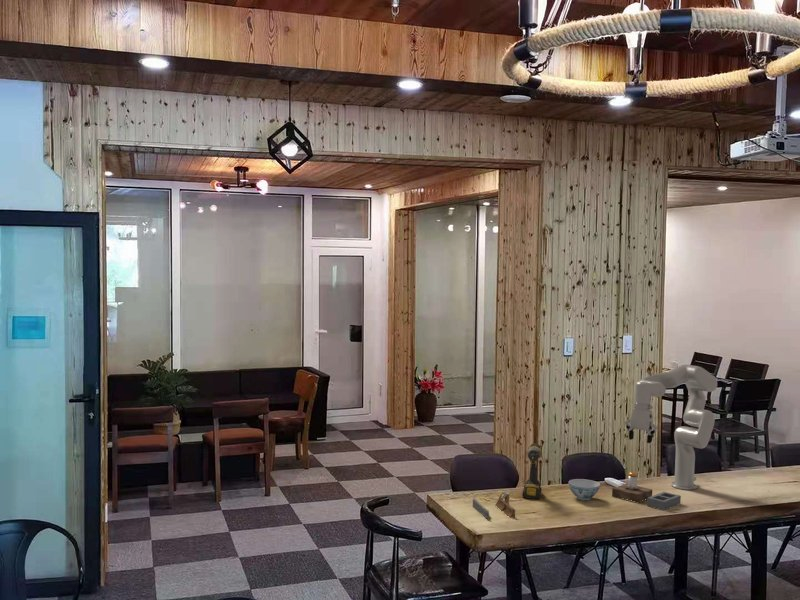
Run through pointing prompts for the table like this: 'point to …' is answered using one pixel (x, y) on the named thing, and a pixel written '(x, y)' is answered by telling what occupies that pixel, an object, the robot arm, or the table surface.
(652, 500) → the gray cinder block
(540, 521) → the table surface
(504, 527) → the table surface
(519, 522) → the table surface
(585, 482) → the chinaware
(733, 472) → the table surface
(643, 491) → the socket block
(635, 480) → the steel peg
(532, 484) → the power drill
